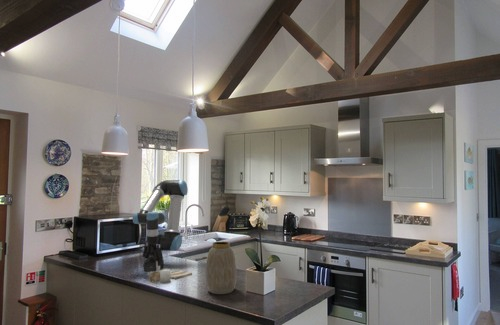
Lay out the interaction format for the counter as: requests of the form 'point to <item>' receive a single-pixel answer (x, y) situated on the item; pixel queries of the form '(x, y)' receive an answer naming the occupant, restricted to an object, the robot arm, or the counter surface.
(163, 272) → the white short cylinder
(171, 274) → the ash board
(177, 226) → the robot arm
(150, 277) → the beech block
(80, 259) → the counter surface
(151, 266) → the camera
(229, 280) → the vase
